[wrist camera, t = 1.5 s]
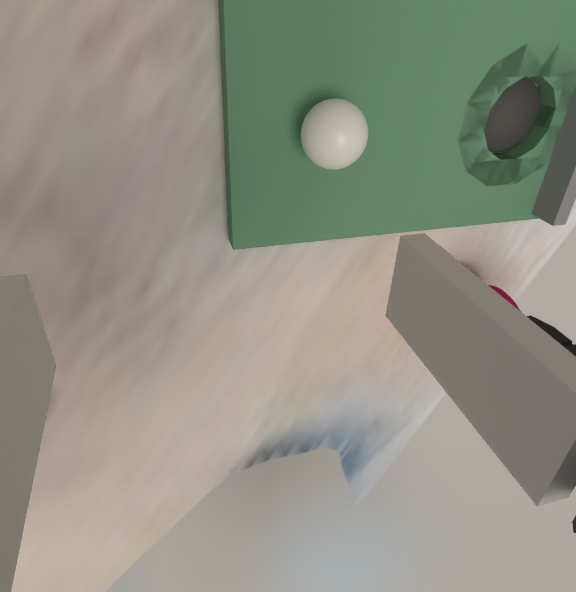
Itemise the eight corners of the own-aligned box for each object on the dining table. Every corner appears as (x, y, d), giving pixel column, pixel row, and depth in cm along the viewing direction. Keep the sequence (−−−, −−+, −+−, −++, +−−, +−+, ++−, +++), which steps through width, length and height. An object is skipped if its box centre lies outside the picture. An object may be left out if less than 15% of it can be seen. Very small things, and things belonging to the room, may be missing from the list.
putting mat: (229, 239, 33) (239, 266, 30) (217, -34, 24) (230, -38, 21) (545, 209, 40) (581, 228, 37) (626, -11, 31) (683, -12, 28)
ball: (291, 160, 29) (311, 180, 26) (293, 93, 27) (315, 106, 24) (348, 157, 30) (374, 176, 27) (355, 92, 28) (384, 104, 25)
